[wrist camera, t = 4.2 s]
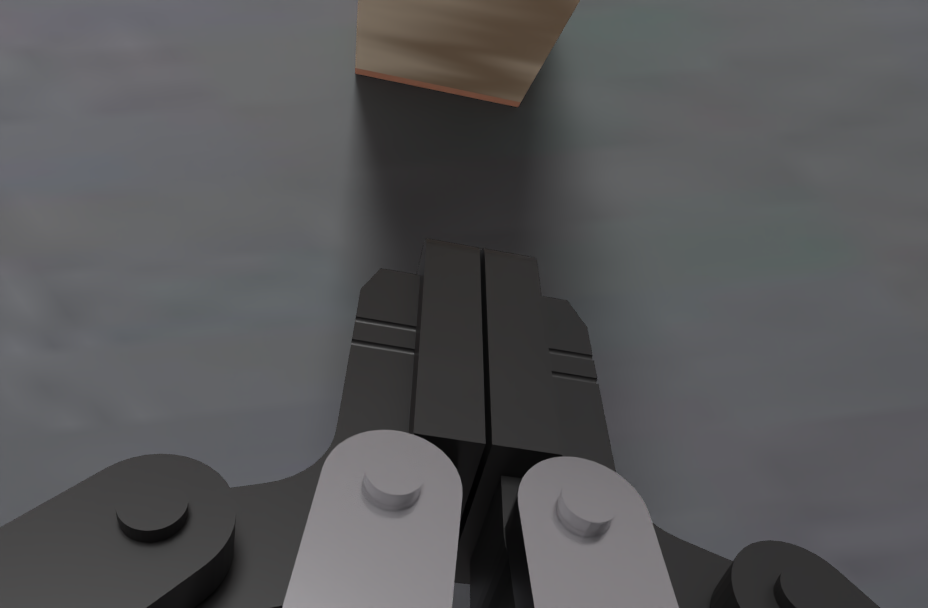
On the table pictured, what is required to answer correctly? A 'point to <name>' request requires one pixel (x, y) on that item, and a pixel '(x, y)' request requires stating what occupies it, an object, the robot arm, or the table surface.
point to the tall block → (460, 44)
